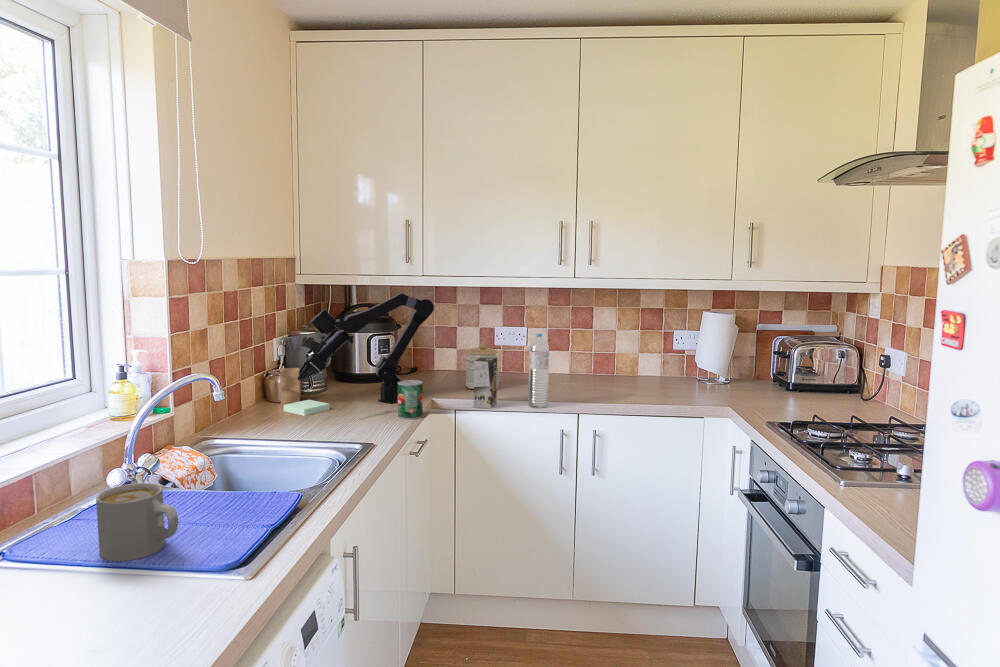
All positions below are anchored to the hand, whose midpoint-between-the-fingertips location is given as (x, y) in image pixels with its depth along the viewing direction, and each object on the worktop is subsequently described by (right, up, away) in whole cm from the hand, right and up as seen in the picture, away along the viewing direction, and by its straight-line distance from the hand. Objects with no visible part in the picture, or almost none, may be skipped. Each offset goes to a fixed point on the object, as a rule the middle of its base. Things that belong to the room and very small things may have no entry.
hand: (298, 377), depth 220 cm
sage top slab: (+6, -10, -10) cm, 16 cm away
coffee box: (+63, -10, +5) cm, 64 cm away
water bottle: (+81, -11, +5) cm, 81 cm away
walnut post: (-3, -10, 0) cm, 10 cm away
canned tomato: (+39, -12, -11) cm, 42 cm away
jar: (+61, -7, +34) cm, 70 cm away
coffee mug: (+5, -23, -106) cm, 109 cm away
